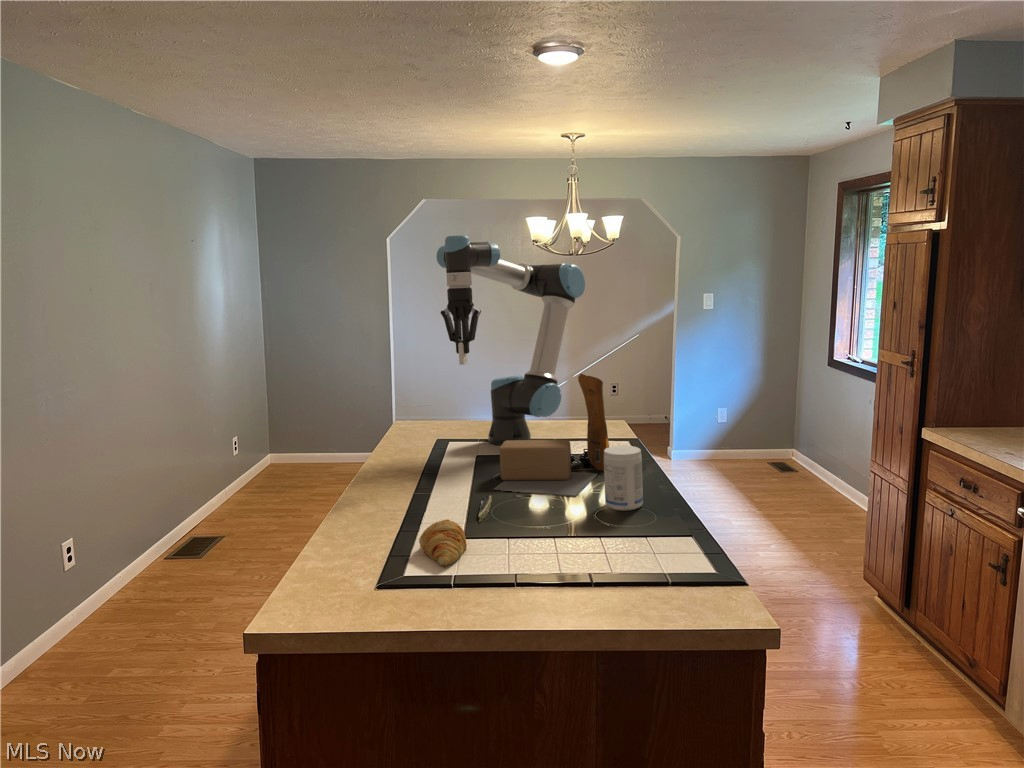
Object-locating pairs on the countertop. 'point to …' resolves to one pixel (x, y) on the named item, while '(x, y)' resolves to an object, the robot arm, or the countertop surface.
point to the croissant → (443, 542)
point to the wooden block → (535, 460)
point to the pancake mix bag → (595, 419)
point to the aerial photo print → (487, 504)
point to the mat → (550, 485)
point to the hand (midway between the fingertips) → (463, 364)
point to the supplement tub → (623, 477)
